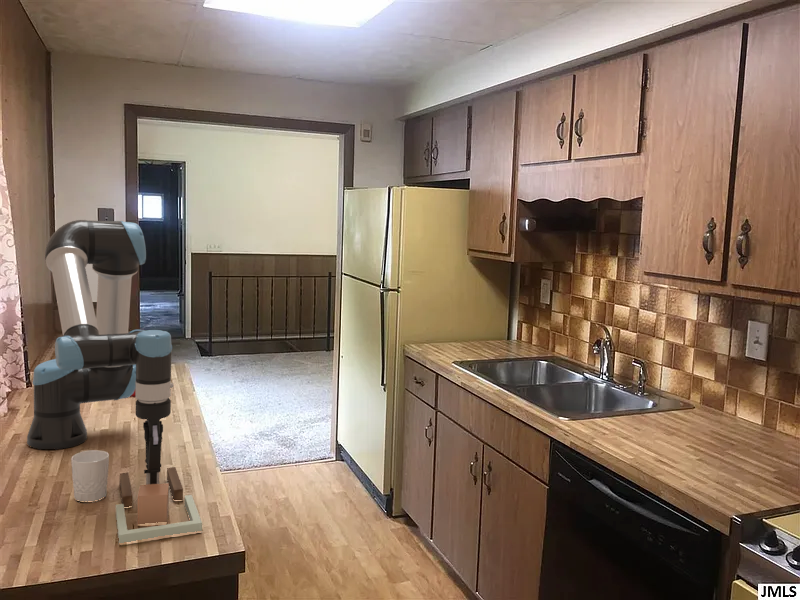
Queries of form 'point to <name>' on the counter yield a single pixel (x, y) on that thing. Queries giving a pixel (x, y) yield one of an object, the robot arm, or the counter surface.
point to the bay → (160, 530)
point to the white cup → (90, 475)
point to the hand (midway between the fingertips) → (152, 497)
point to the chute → (172, 480)
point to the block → (153, 503)
